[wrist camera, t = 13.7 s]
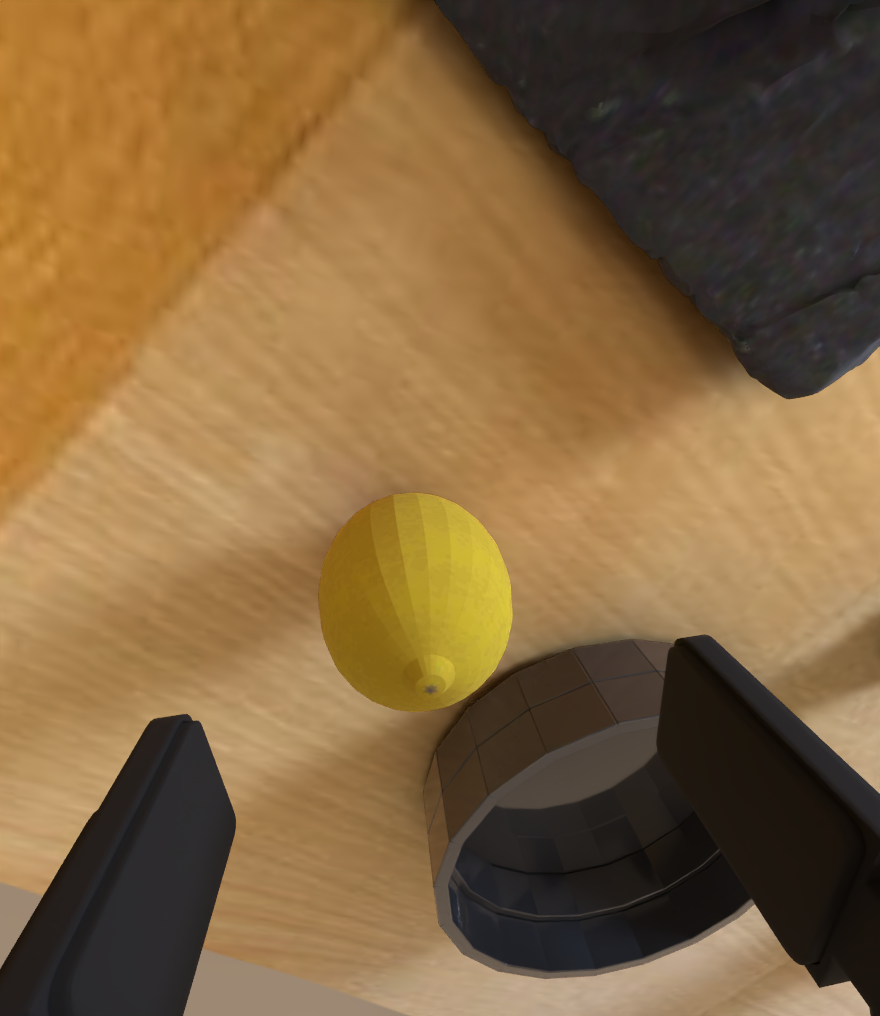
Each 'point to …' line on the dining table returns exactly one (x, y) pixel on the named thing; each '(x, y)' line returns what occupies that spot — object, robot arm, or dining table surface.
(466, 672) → the lemon
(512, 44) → the dark slate chunk
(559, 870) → the pan
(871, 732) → the dining table surface
